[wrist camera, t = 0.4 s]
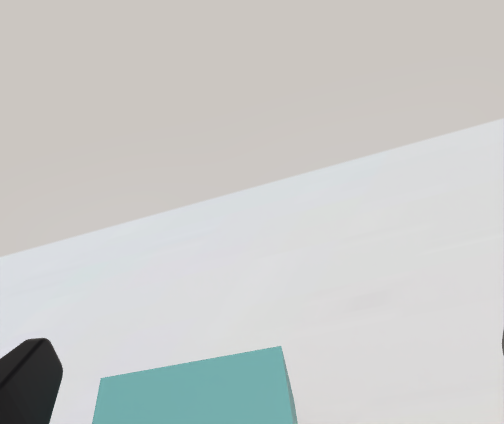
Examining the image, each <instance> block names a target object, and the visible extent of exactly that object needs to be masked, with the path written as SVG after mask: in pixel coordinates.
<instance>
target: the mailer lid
mask: <svg viewBox="0 0 504 424" xmlns="http://www.w3.org/2000/svg"><path fill="white" fill-rule="evenodd" d="M92 424H298V423H297V417H296V410H295V404H294V398H293V394H292V390H291V385H290V381H289V377H288V373H287V369H286V364H285V360H284V356H283V352H282V348H281V346H278V347H273V348H267V349H262V350H256V351H250V352H245V353H239V354H234V355H228V356H223V357H217V358H211V359H206V360H200V361H195V362H189V363H183V364H178V365H172V366H167V367H161V368H156V369H150V370H144V371H139V372H133V373H128V374H122V375H116V376H111V377H105V378H101V380H100V386H99V391H98V396H97V401H96V406H95V412H94V417H93V422H92Z"/></svg>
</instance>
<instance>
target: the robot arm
mask: <svg viewBox="0 0 504 424" xmlns="http://www.w3.org/2000/svg"><path fill="white" fill-rule="evenodd" d="M502 349H503V354H504V331H503V339H502ZM62 375H63V368H62V364H61V362H60V360H59V358H58V356H57V354H56V352H55V350H54V348H53V346H52V344H51V342H50V341H49V340H48V339H46V338H36V339H28V340H26V341H24V342H23V343H21V344H20V345H19V346H17V347H16V348H15V349H13V350H12V351H10V352H9V353H8V354H6V355H5V356H4V357H2V358H1V359H0V424H49V422H50V418H51V415H52V411H53V408H54V404H55V401H56V397H57V394H58V390H59V387H60V383H61V380H62Z"/></svg>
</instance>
